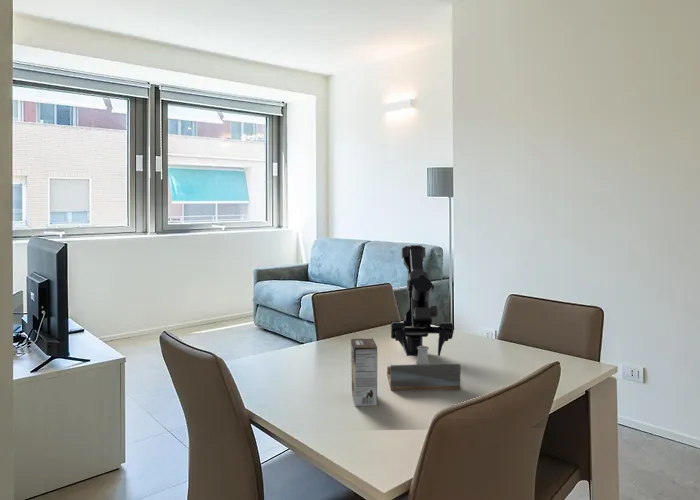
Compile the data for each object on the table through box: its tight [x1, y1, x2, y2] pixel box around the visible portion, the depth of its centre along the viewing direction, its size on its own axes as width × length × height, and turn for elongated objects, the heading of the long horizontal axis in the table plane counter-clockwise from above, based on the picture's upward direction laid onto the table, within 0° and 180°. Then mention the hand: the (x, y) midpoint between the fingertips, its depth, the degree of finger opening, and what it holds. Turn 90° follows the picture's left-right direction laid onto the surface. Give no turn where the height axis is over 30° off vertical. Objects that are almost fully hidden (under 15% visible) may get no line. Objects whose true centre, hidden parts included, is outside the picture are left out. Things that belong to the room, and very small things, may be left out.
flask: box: [414, 345, 431, 365], centre depth 155 cm, size 7×7×10 cm
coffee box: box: [350, 338, 378, 407], centre depth 143 cm, size 9×6×16 cm
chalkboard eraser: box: [386, 363, 461, 391], centre depth 157 cm, size 14×20×7 cm
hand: (423, 355), depth 154 cm, fingers open, 9 cm apart
